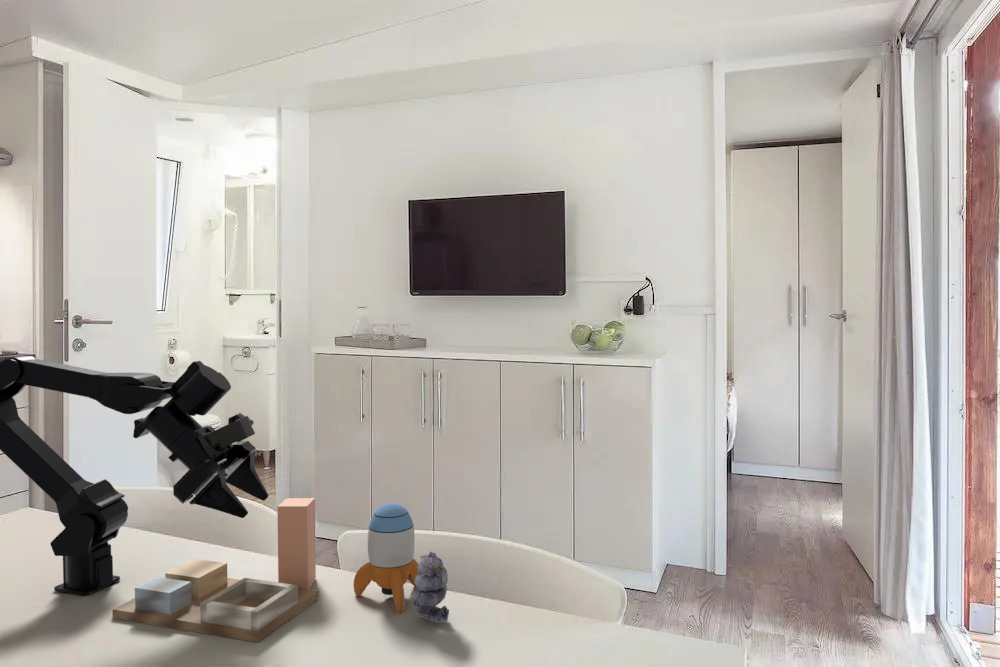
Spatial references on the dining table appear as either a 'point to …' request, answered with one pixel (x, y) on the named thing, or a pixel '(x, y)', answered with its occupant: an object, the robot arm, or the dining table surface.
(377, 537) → the toy rocket
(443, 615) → the seashell
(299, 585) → the post
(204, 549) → the dining table surface
